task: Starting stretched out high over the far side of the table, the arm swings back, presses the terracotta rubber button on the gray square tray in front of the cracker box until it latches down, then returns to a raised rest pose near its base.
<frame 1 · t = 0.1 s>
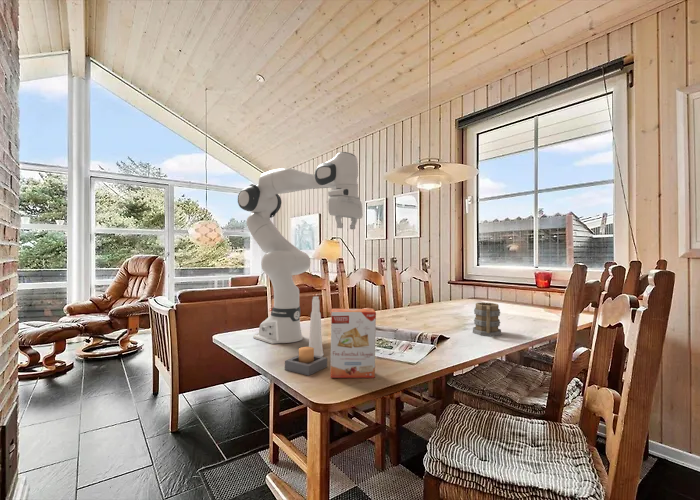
hand: (346, 228, 140), 48 cm above the table, tool pointing down, fingers open, 8 cm apart
cosmetic bottle: (315, 355, 133), on the table
tankard: (486, 335, 168), on the table
gray square tray: (306, 368, 119), on the table
button: (306, 354, 119), point 4 cm above the table, slide at 0.0 cm
cracker box: (352, 376, 112), on the table
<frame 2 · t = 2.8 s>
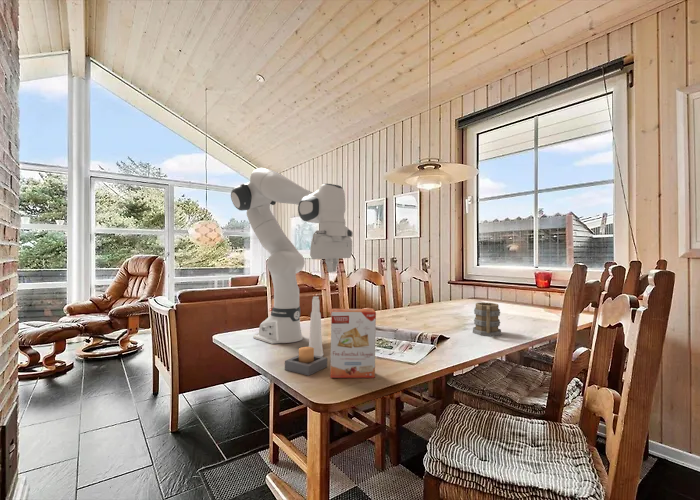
hand: (332, 272, 121), 32 cm above the table, tool pointing down, fingers closed
nothing on the table moved.
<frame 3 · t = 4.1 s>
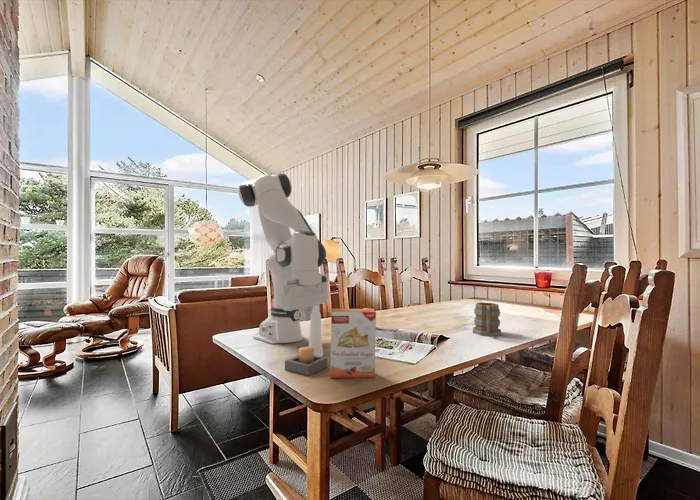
hand: (306, 320, 118), 16 cm above the table, tool pointing down, fingers closed
nothing on the table moved.
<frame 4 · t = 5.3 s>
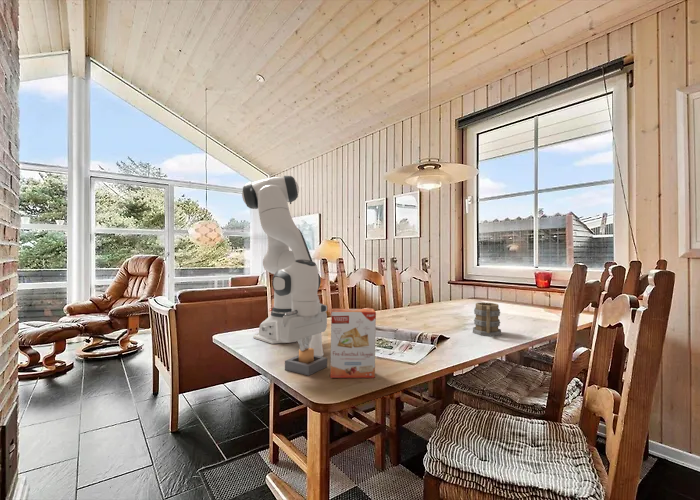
hand: (304, 350, 118), 6 cm above the table, tool pointing down, fingers closed
button: (306, 355, 119), point 4 cm above the table, slide at 0.3 cm, touching gripper
everything else where it was.
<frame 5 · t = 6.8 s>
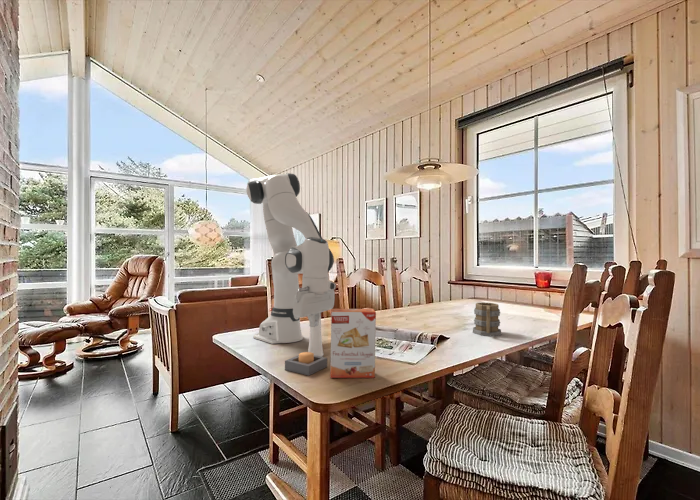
hand: (314, 326, 120), 14 cm above the table, tool pointing down, fingers closed
button: (306, 360, 119), point 3 cm above the table, slide at 1.8 cm
everything else where it was.
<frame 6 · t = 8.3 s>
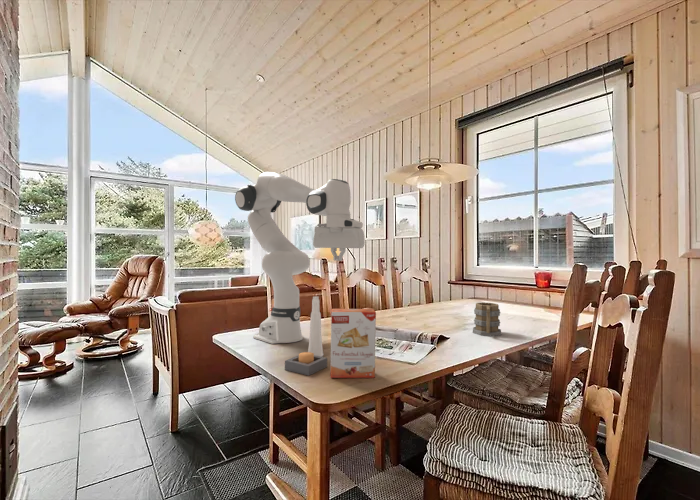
hand: (338, 260, 131), 36 cm above the table, tool pointing down, fingers closed
nothing on the table moved.
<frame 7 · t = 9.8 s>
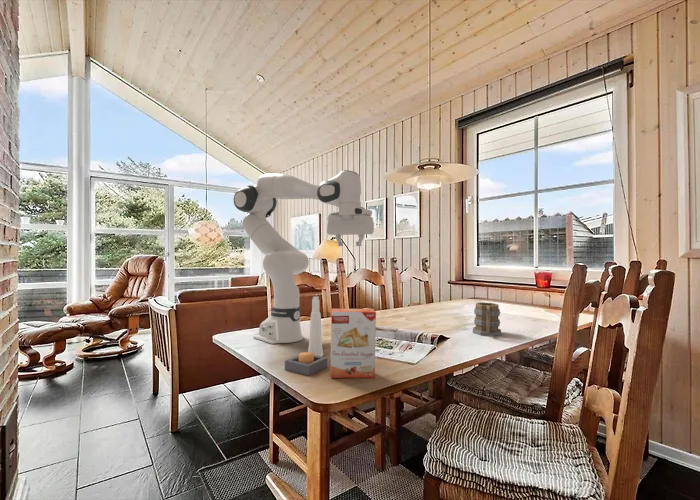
hand: (349, 246, 142), 41 cm above the table, tool pointing down, fingers open, 7 cm apart
nothing on the table moved.
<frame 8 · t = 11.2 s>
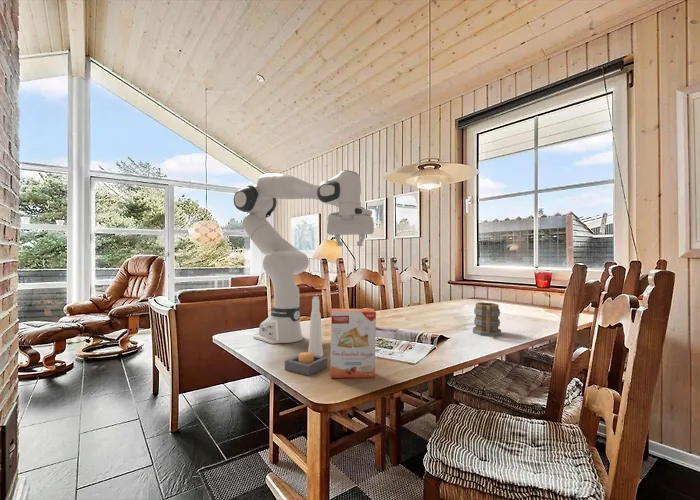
hand: (349, 246, 142), 41 cm above the table, tool pointing down, fingers open, 8 cm apart
nothing on the table moved.
at the end: button slide at 1.8 cm; button resting on gray square tray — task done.
